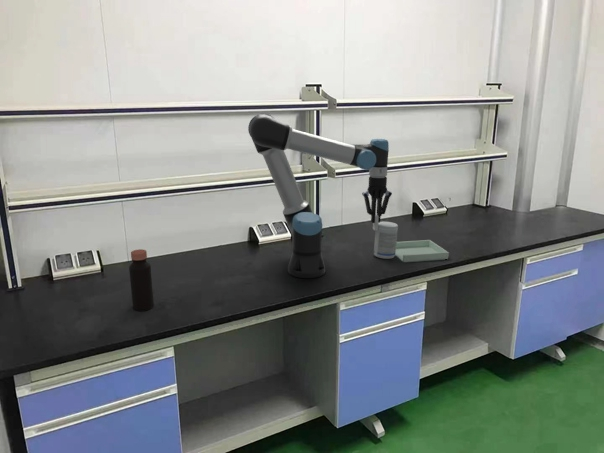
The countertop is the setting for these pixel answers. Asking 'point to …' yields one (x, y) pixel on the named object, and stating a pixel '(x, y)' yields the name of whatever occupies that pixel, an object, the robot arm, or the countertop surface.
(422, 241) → the tray
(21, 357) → the countertop surface
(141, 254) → the bottle
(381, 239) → the supplement tub
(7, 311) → the countertop surface
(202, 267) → the countertop surface
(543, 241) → the countertop surface
